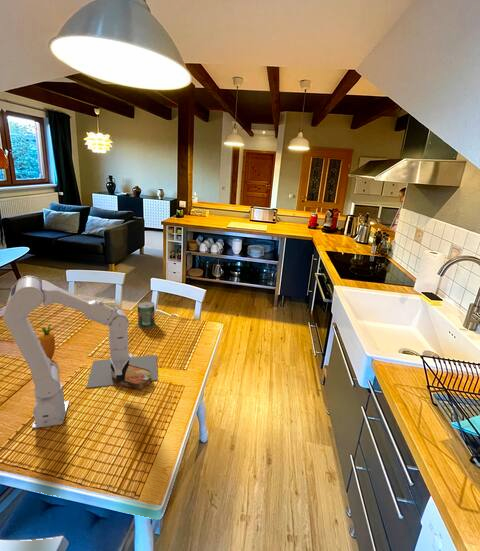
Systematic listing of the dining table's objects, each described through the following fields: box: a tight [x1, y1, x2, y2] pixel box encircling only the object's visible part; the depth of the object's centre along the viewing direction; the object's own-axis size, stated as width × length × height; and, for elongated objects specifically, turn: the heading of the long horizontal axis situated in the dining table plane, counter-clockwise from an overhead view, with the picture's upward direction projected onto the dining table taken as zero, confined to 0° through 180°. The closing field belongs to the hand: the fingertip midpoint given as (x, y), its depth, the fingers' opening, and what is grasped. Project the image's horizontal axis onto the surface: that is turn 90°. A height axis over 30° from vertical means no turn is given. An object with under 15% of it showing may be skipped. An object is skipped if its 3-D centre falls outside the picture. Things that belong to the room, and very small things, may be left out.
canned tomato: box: [136, 300, 156, 330], centre depth 150 cm, size 8×8×11 cm
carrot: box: [39, 324, 56, 360], centre depth 119 cm, size 5×5×15 cm
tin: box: [111, 365, 152, 390], centre depth 113 cm, size 15×3×8 cm
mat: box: [86, 354, 159, 389], centre depth 118 cm, size 16×24×1 cm, turn 106°
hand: (121, 379), depth 105 cm, fingers closed
